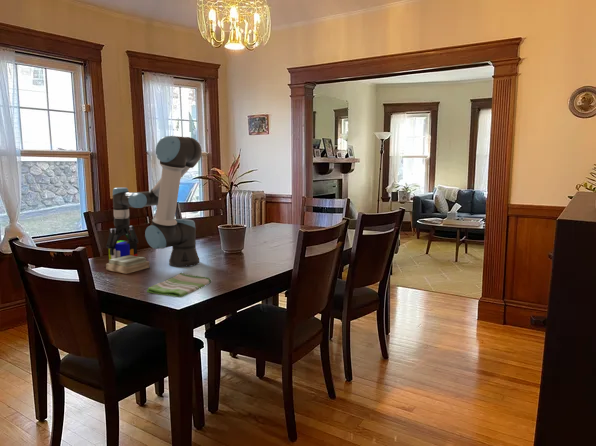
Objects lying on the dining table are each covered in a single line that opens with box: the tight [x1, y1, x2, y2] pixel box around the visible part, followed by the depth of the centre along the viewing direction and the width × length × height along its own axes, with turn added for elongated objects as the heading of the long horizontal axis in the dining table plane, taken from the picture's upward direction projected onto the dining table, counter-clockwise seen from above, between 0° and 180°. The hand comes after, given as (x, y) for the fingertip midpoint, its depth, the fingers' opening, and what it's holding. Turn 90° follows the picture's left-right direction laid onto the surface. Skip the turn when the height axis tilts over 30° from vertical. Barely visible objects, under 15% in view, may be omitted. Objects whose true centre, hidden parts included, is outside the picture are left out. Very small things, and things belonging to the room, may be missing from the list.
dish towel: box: [146, 272, 212, 298], centre depth 184 cm, size 17×23×4 cm
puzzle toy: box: [107, 240, 138, 260], centre depth 229 cm, size 10×10×10 cm
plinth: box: [105, 255, 150, 274], centre depth 214 cm, size 14×14×5 cm
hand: (123, 258), depth 230 cm, fingers closed on puzzle toy, 11 cm apart
